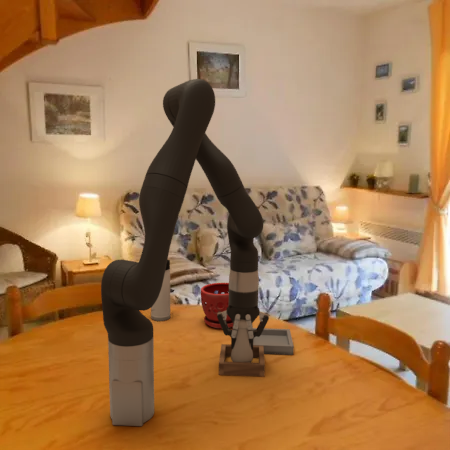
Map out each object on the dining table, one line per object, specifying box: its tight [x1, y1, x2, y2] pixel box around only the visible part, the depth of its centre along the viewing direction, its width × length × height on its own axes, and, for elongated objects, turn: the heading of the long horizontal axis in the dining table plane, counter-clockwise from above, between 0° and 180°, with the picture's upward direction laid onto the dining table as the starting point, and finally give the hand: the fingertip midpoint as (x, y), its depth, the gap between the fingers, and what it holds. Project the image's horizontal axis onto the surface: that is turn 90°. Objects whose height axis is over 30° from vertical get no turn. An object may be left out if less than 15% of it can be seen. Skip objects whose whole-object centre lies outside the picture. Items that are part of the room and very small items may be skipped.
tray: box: [253, 327, 294, 356], centre depth 136 cm, size 12×12×2 cm
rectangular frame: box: [218, 343, 266, 377], centre depth 123 cm, size 11×11×3 cm
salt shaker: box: [230, 319, 254, 363], centre depth 122 cm, size 6×6×13 cm
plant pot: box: [200, 282, 233, 329], centre depth 150 cm, size 13×13×12 cm
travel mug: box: [150, 259, 171, 322], centre depth 153 cm, size 6×7×20 cm
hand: (242, 350), depth 123 cm, fingers closed on salt shaker, 3 cm apart
